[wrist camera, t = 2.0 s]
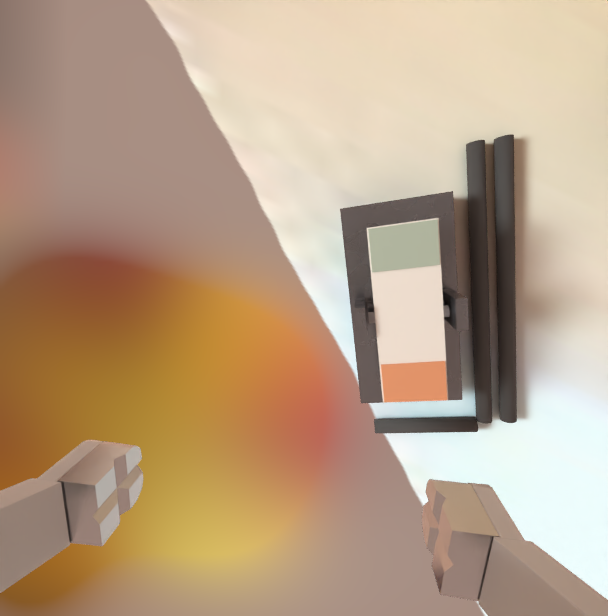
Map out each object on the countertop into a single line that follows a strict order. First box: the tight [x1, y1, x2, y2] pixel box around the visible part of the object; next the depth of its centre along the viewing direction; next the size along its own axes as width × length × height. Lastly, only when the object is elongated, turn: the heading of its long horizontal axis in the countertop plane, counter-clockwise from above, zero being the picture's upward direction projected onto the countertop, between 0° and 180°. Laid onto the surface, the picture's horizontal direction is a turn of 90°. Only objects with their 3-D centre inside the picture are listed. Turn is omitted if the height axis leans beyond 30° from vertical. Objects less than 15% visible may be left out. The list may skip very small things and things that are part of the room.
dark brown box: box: [340, 191, 469, 403], centre depth 28 cm, size 18×9×8 cm, turn 8°
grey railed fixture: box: [374, 135, 517, 433], centre depth 31 cm, size 14×27×1 cm, turn 8°
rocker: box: [367, 218, 450, 403], centre depth 25 cm, size 14×6×2 cm, turn 8°
